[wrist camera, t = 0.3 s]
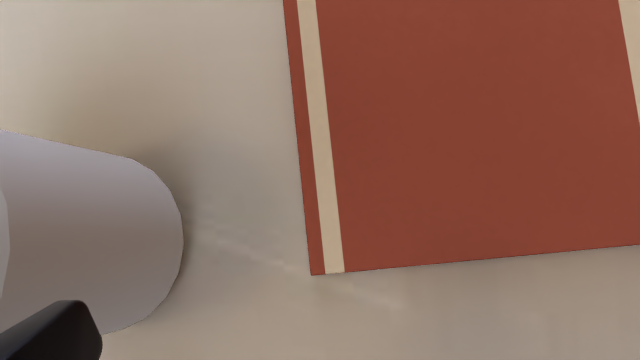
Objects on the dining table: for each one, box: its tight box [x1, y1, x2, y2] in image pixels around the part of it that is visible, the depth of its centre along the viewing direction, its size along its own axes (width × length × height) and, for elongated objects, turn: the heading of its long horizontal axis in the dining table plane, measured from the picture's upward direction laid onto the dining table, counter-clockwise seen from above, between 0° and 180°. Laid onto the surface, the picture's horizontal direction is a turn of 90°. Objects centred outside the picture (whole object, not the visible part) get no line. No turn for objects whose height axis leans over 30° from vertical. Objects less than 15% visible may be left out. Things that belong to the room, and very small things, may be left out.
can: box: [0, 129, 184, 335], centre depth 20 cm, size 8×8×12 cm
